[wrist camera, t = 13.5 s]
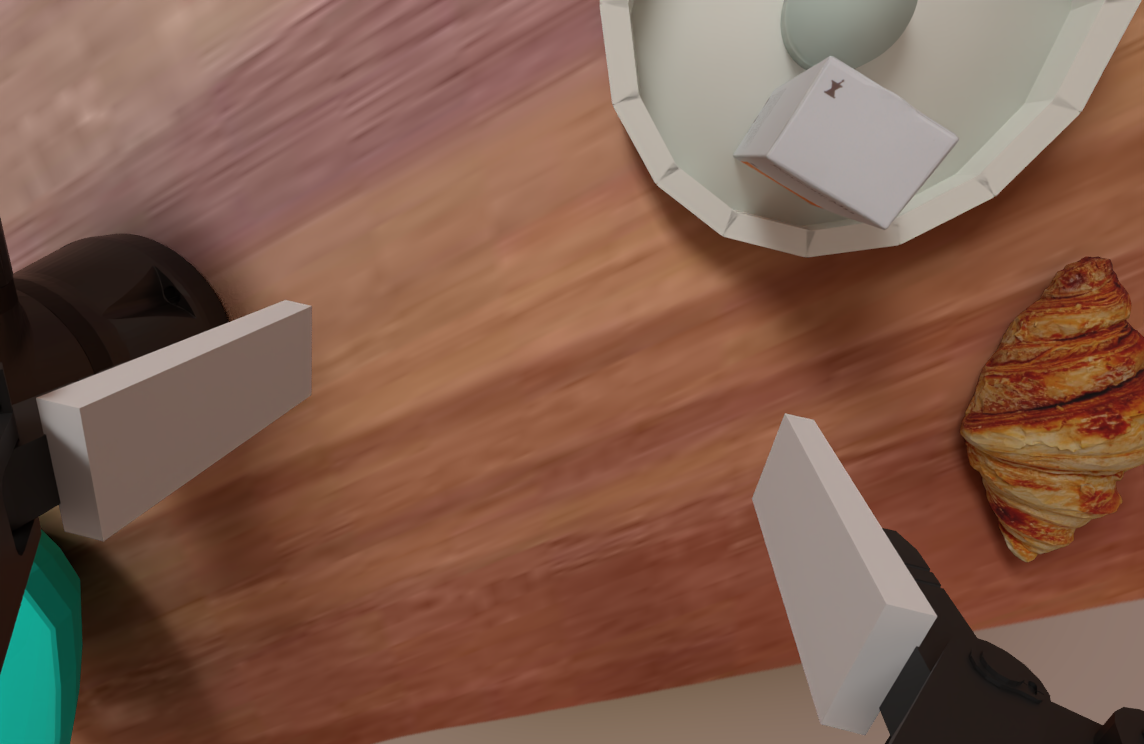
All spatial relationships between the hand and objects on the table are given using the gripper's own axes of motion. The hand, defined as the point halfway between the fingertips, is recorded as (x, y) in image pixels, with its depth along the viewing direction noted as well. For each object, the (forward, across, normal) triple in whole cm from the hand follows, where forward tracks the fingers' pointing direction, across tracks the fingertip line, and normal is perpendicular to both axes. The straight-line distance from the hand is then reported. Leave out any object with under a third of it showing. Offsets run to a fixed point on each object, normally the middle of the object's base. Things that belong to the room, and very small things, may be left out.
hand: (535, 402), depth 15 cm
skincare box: (+23, +10, +9) cm, 26 cm away
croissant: (+24, +30, -4) cm, 38 cm away
